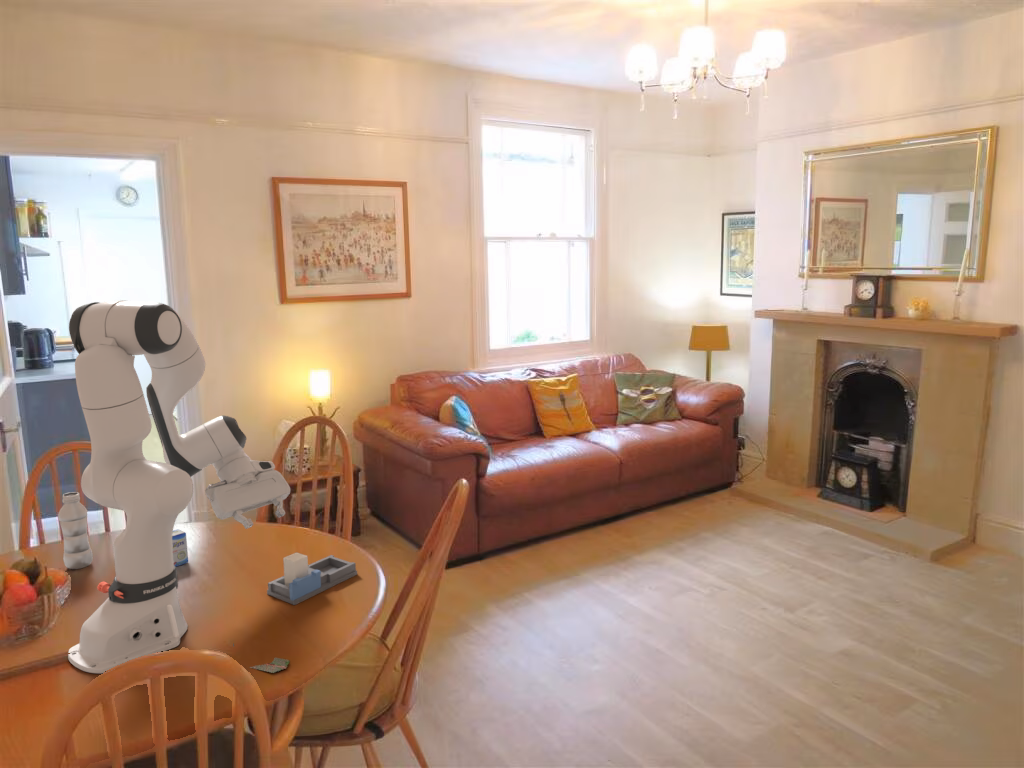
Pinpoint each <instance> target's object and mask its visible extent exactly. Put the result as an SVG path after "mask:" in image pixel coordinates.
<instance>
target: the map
mask: <svg viewBox="0 0 1024 768" xmlns="http://www.w3.org/2000/svg"><path fill="white" fill-rule="evenodd" d="M232 645H233V647H235V644H234V643H233V644H232ZM289 664H290V660H289V659H286V658H280V657H274V658H273V660H272V662H270V663H269V662H268V663H263V664H258V665H254V666H249V668H250V669H255V670H258V671H263V672H267V673H268V672H269V673H273V674H274V673H276V672H279V671H281V670H284V669H287V667H288V665H289Z"/></svg>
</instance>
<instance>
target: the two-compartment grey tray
mask: <svg viewBox="0 0 1024 768" xmlns="http://www.w3.org/2000/svg"><path fill="white" fill-rule="evenodd" d="M356 566H357V565H356V562H353V561H352V562H351V561H348V560H345V559H341V558H339V557H335V555H334V554H333V555H332V554H330V555H327V556H326V557H323V558H320V559H319V560H316V561H315V562H311V563H310V564H308V575H307V576H305V577H303V578H296V579H294V580H293V582H292V583H289V587H288V586H285V579H284V575H282V576H281V577H278V578H276V579H274V580H272V581H269V582H267V589H266V594H267V595H268V596H271V597H273V598H275V599H278V600H280V601H283V602H286V603H288V604H291V605H292V606H296V605H298V604H299V603H302V602H305V601H306V600H308V599H310V598H312V597H314V596H316V595H318V594H321V593H322V592H324V591H326V590H329V589H331V588H332V587H334V586H337V585H338V584H341V583H342V582H345V581H347V580H349V579H350V578H351V579H352V578H353V577H355V576H357V575H358V570H357V567H356Z"/></svg>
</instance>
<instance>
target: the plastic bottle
mask: <svg viewBox="0 0 1024 768" xmlns="http://www.w3.org/2000/svg"><path fill="white" fill-rule="evenodd" d="M80 501H81V497H80V492H76V491H72V492H66V493H63V494H62V503H63V505H62V506H61V508H60V509H59V511H58V513H57V514H58V516H57V518H58V520H59V521H58V522H59V525H60V528H61V532H62V538H63V550H64V551H63V554H62V555H63V559H62V560H63V564H64V566H65V567H66V568H67V569H68V570H69V569H70V570H79V569H82V568H83V569H84V568H86V567H88V566H90V565H91V564H92V562H93V560H94V558H93V556H94V554H93V551H92V548H91V545H90V540H89V537H88V509H87V508H86V507H85V505H83V504H82V503H81V502H80Z"/></svg>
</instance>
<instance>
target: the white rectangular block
mask: <svg viewBox="0 0 1024 768" xmlns="http://www.w3.org/2000/svg"><path fill="white" fill-rule="evenodd" d="M308 560H309V558H308V555H306V554H303V553H300V552H294V553H292V554H290V555H286V556H284V557H283V576H284V579H285V586H288V587H289V583H292V582H293V580H294V579H296V578H303V577H305V576H307V575H308V565H309V563H308V562H309V561H308Z"/></svg>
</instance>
